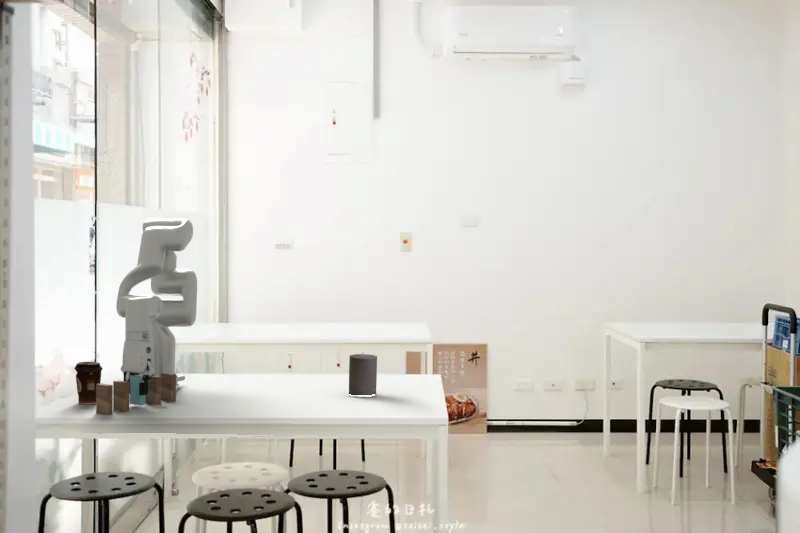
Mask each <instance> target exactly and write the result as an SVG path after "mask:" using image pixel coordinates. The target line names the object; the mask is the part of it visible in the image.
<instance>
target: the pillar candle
mask: <svg viewBox="0 0 800 533" xmlns="http://www.w3.org/2000/svg"><path fill="white" fill-rule="evenodd" d="M348 363H349V364H348V366H349V367H348V368H349V369H348V394H351V395H372V394H376V395H377V383H378V382H377V381H378V380H377V379H378V378H377V376H378V374H377V373H378V371H377V370H378V369H377V368H378V356H377V355H375V354H370V353H369V354H366V353H365V354H364V353H359V354H358V353H355V354H350V355H349V362H348Z"/></svg>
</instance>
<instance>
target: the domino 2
mask: <svg viewBox="0 0 800 533" xmlns="http://www.w3.org/2000/svg"><path fill="white" fill-rule="evenodd" d="M144 377H145V376H144ZM139 383H141V381H140V375H130V394H129V405H135V406H145V405H146V404H145V395H142V396H141V395H139Z"/></svg>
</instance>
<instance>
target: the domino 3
mask: <svg viewBox="0 0 800 533" xmlns="http://www.w3.org/2000/svg"><path fill="white" fill-rule="evenodd" d="M145 405H153V406H159V405H162V401H161V376H154V375H153V376H152V377H151V379H150V381H149V382H148V394H147V395H145Z"/></svg>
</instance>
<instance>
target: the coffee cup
mask: <svg viewBox="0 0 800 533" xmlns="http://www.w3.org/2000/svg"><path fill="white" fill-rule="evenodd" d="M73 369H74V370H75V372H76V374H75V381H76V391H77V396H78V403H79V404H82V405H96V384H100V383H102V382H101V379H102V371H103V367H102V365H101V363H100V362H96V361H80V362H77V363H76V365H75V367H74V368H73Z"/></svg>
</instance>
